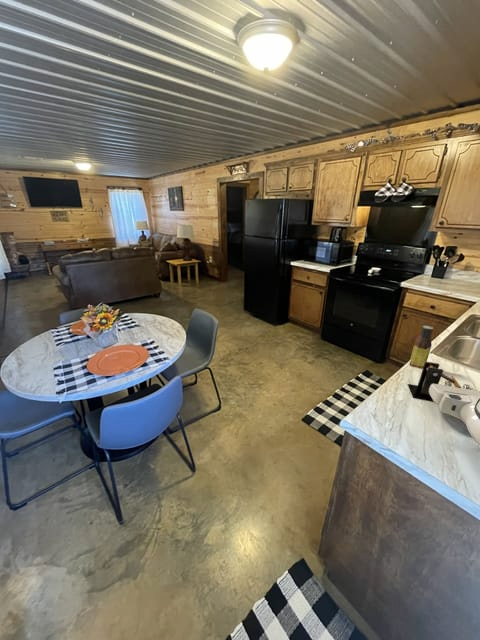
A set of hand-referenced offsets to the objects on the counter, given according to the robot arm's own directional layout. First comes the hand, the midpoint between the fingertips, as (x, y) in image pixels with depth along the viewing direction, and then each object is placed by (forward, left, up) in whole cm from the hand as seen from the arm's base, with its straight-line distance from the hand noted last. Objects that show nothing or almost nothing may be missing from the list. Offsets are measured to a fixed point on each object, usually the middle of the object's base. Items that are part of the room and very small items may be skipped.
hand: (456, 384), depth 97 cm
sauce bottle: (+5, -24, -8) cm, 26 cm away
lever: (+5, -1, +1) cm, 5 cm away
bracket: (+8, -1, -8) cm, 12 cm away
